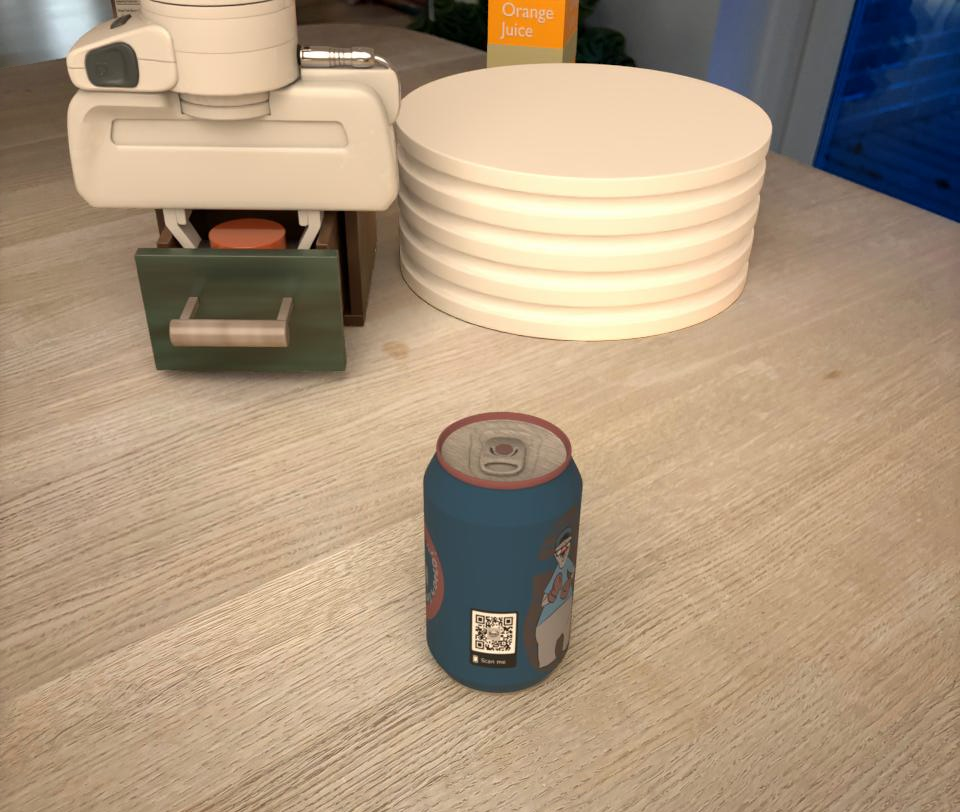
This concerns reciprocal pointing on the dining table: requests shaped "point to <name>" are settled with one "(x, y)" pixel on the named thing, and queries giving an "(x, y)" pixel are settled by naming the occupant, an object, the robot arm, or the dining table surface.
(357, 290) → the cabinet
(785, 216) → the dining table surface
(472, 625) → the soda can
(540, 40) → the orange juice
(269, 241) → the orange cylinder block
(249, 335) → the drawer
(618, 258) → the plate stack
